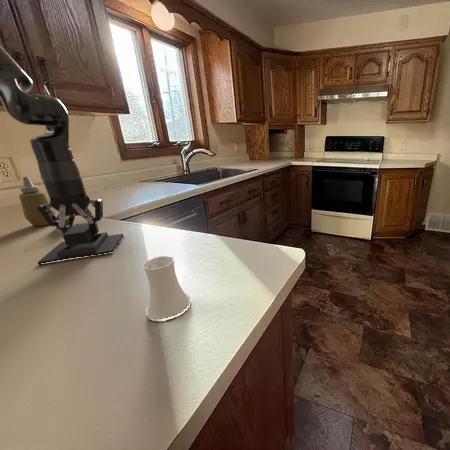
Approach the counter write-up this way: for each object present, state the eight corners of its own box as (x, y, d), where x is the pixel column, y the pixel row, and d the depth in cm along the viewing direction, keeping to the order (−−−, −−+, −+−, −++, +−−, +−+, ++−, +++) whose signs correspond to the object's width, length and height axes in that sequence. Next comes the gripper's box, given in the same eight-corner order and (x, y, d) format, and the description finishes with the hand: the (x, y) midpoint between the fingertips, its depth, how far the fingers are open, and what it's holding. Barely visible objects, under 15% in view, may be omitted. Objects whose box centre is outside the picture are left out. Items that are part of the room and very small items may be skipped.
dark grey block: (66, 245, 66) (62, 235, 65) (78, 233, 74) (75, 224, 73) (89, 241, 68) (85, 231, 67) (98, 231, 76) (95, 222, 75)
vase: (186, 318, 44) (176, 270, 40) (140, 325, 42) (125, 276, 39) (194, 294, 51) (186, 250, 47) (154, 299, 49) (143, 254, 46)
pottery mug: (58, 226, 92) (66, 205, 93) (89, 233, 96) (96, 213, 97) (44, 228, 81) (54, 204, 82) (80, 235, 86) (89, 213, 87)
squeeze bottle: (27, 229, 88) (6, 179, 82) (30, 224, 94) (10, 176, 88) (57, 224, 93) (39, 176, 87) (58, 219, 99) (42, 174, 93)
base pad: (38, 265, 63) (35, 257, 62) (62, 245, 75) (59, 237, 74) (113, 253, 69) (110, 245, 68) (123, 236, 81) (122, 229, 80)
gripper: (99, 174, 71) (115, 228, 77) (34, 178, 65) (57, 236, 71) (90, 177, 64) (109, 237, 70) (17, 182, 59) (44, 246, 65)
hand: (83, 236), depth 71 cm, fingers closed on dark grey block, 5 cm apart
